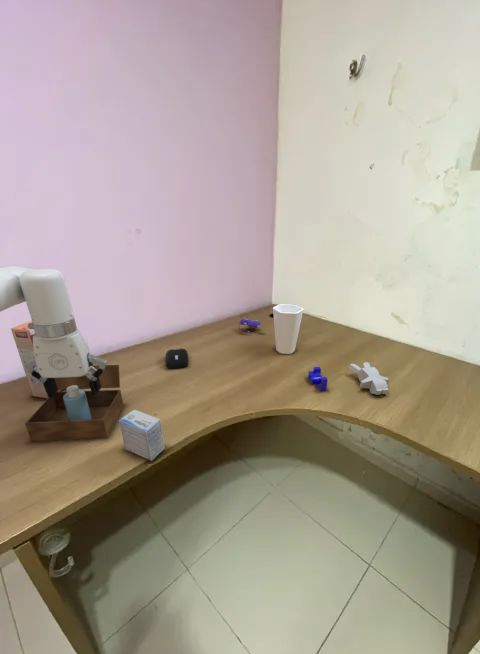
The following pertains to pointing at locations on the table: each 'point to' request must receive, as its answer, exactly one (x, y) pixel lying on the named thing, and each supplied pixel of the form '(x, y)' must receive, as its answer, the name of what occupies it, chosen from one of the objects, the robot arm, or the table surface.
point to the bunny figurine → (371, 379)
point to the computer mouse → (176, 358)
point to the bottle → (76, 404)
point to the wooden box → (57, 426)
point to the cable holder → (318, 378)
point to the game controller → (249, 323)
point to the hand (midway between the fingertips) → (75, 393)
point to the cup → (286, 326)
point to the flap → (106, 379)
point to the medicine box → (142, 434)
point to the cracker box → (28, 356)
